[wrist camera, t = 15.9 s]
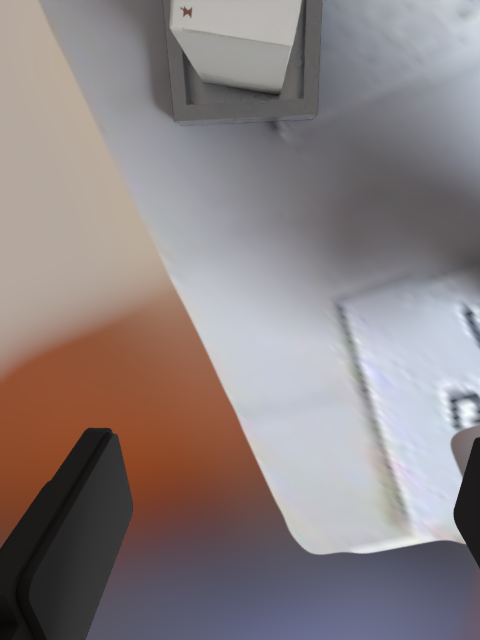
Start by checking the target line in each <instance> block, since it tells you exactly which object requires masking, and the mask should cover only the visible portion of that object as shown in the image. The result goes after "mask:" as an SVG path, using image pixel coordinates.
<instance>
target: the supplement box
mask: <svg viewBox="0 0 480 640" xmlns="http://www.w3.org/2000/svg"><path fill="white" fill-rule="evenodd" d="M301 3H302V0H171V10H170V24H169V27H170V30H171V31H172V33H173V35H174V36H175V38H176V39H177V41H178V43H179V44H180V46H181V48H182V49H183V51H184V52H185V54H186V56H187V57H188V59H189V61H190V62H191V64H192V66H193V67H194V69H195V70H196V72H197V74H198V75H199V77H200V79H201V80H202V82H206V83H212V84H218V85H224V86H230V87H236V88H242V89H248V90H253V91H259V92H265V93H271V94H277V95H279V94H280V93H281V90H282V86H283V82H284V78H285V73H286V69H287V65H288V61H289V57H290V53H291V49H292V46H293V42H294V38H295V33H296V28H297V23H298V18H299V13H300V8H301Z"/></svg>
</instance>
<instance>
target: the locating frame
mask: <svg viewBox="0 0 480 640" xmlns="http://www.w3.org/2000/svg"><path fill="white" fill-rule="evenodd" d="M170 10H171V0H163V11H164V21H165V31H166V41H167V52H168V62H169V72H170V83H171V93H172V103H173V114H174V122H176V123H178V124H179V125H181V126H188V125H208V124H228V123H249V122H269V121H290V120H310V119H313V118H314V117H315V116H316V115H317V109H318V87H319V65H320V42H321V20H322V0H302V3H301V8H300V13H299V18H298V23H297V28H296V33H295V38H294V42H293V46H292V49H291V53H290V57H289V61H288V65H287V69H286V73H285V78H284V82H283V86H282V90H281V93H280V94H279V95H277V94H271V93H265V92H259V91H253V90H248V89H242V88H236V87H230V86H224V85H218V84H212V83H206V82H202V80H201V79H200V77H199V75H198V74H197V72H196V70H195V69H194V67H193V66H192V64H191V62H190V61H189V59H188V57H187V56H186V54H185V52H184V51H183V49H182V48H181V46H180V44H179V43H178V41H177V39H176V38H175V36H174V35H173V33H172V31H171V30H170V27H169V24H170Z"/></svg>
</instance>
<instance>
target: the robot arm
mask: <svg viewBox="0 0 480 640" xmlns="http://www.w3.org/2000/svg"><path fill="white" fill-rule="evenodd" d="M132 512H133V501H132V497H131V492H130V487H129V483H128V479H127V474H126V469H125V465H124V461H123V456H122V451H121V447H120V443H119V438H118V435H117V434H113V433H112V430H111V429H110V428H88V429H86V431H84V433H83V434H82V436H81V437H80V439H79V440H78V442H77V443H76V444H75V446H74V448H73V449H72V450H71V452H70V453H69V455H68V456H67V458H66V459H65V461H64V462H63V464H62V465H61V466H60V468H59V469H58V471H57V472H56V474H55V475H54V477H53V478H52V480H51V481H49V482H47V484H45V486H44V487H43V488H42V489H41V491H40V492H39V494H38V495H37V497H36V498H35V499H34V501H33V502H32V504H31V505H30V507H29V508H28V510H27V511H26V512H25V514H24V515H23V517H22V518H21V520H20V521H19V523H18V524H17V526H16V527H15V528H14V530H13V531H12V533H11V534H10V536H9V537H8V539H7V540H6V541H5V543H4V544H3V546H2V547H1V548H0V640H85V639H86V637H87V634H88V631H89V629H90V626H91V623H92V621H93V618H94V615H95V613H96V610H97V607H98V605H99V602H100V599H101V597H102V594H103V591H104V589H105V586H106V584H107V581H108V578H109V575H110V573H111V570H112V568H113V565H114V562H115V559H116V557H117V554H118V551H119V549H120V546H121V544H122V541H123V538H124V535H125V533H126V530H127V528H128V525H129V522H130V520H131V517H132ZM453 513H454V520H455V523H456V526H457V528H458V530H459V531H460V533H461V535H462V537H463V539H464V541H465V542H466V544H467V546H468V548H469V550H470V551H471V553H472V555H473V557H474V558H475V560H476V562H477V564H478V566H479V568H480V438H476V439H475V441H474V443H473V447H472V450H471V454H470V457H469V460H468V463H467V467H466V470H465V474H464V477H463V480H462V484H461V487H460V491H459V494H458V497H457V501H456V504H455V508H454V512H453Z"/></svg>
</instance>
